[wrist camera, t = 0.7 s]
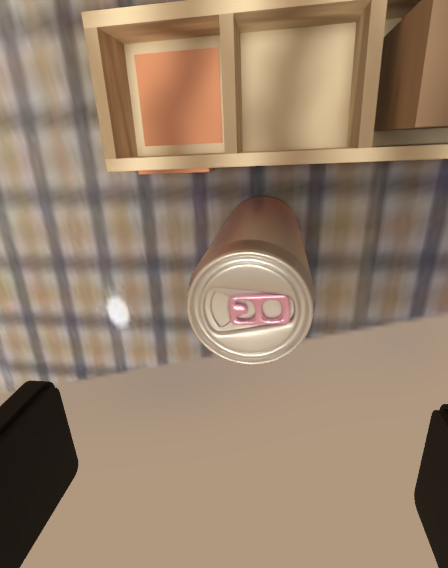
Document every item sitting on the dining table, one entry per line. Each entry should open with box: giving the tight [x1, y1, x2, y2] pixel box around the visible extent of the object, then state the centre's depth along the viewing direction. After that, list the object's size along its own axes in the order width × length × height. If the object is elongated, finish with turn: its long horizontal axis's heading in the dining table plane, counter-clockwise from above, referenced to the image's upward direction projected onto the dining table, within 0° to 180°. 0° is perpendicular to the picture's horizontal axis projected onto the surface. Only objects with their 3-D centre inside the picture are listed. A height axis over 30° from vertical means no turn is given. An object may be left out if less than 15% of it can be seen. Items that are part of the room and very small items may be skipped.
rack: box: [81, 0, 448, 174], centre depth 23 cm, size 25×9×5 cm, turn 92°
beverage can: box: [187, 196, 315, 365], centre depth 22 cm, size 6×6×15 cm
